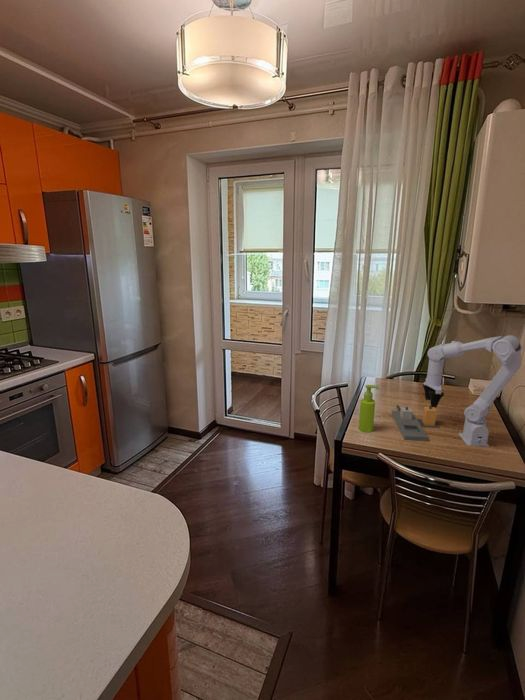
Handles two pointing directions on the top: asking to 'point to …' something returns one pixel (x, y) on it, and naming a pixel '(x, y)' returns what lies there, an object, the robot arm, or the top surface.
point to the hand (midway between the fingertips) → (430, 403)
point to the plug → (429, 416)
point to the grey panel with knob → (409, 425)
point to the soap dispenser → (367, 410)
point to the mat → (428, 425)
